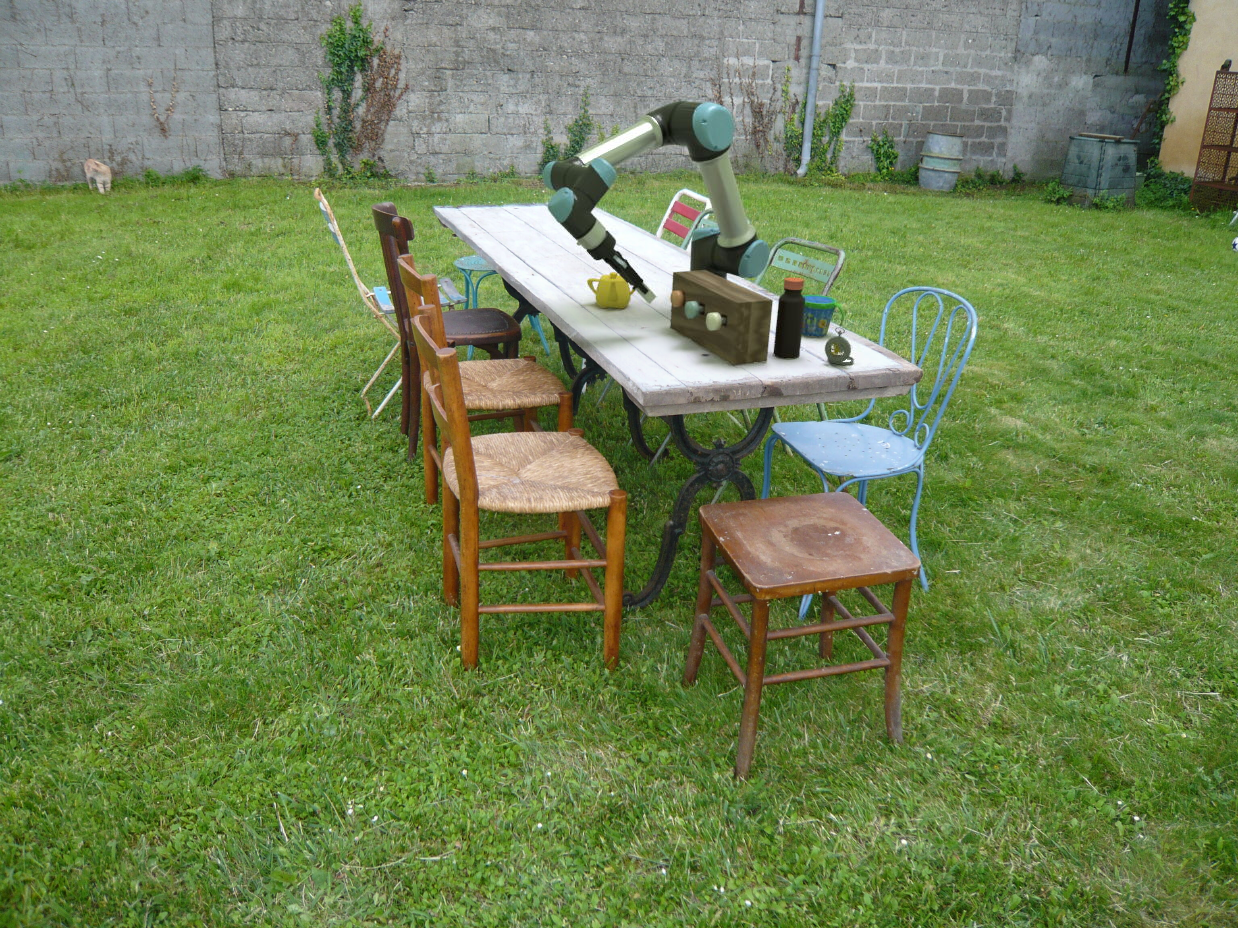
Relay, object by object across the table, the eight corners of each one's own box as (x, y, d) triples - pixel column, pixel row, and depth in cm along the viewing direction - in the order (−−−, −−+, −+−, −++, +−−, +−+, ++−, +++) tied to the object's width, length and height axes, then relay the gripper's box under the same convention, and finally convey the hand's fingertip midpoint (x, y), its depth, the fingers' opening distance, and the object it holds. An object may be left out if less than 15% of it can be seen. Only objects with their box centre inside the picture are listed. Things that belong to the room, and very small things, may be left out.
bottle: (781, 350, 245) (789, 275, 237) (804, 355, 242) (812, 279, 233) (768, 355, 241) (775, 279, 232) (791, 360, 237) (799, 283, 229)
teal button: (691, 320, 240) (692, 304, 239) (684, 316, 244) (685, 300, 242) (710, 318, 242) (711, 302, 241) (702, 314, 246) (703, 298, 244)
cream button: (713, 332, 230) (714, 315, 229) (705, 328, 234) (706, 311, 232) (732, 330, 232) (734, 313, 231) (724, 326, 236) (725, 309, 234)
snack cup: (845, 334, 261) (850, 299, 257) (834, 343, 253) (839, 306, 249) (793, 325, 268) (797, 291, 264) (780, 334, 260) (784, 298, 255)
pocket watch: (849, 358, 240) (854, 321, 236) (858, 368, 233) (863, 330, 228) (818, 357, 240) (823, 320, 236) (826, 367, 232) (831, 329, 228)
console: (732, 365, 232) (737, 302, 225) (670, 328, 262) (673, 272, 255) (766, 361, 236) (772, 300, 229) (701, 325, 266) (705, 270, 259)
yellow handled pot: (644, 308, 282) (645, 274, 278) (612, 314, 274) (612, 280, 270) (615, 299, 292) (615, 266, 288) (583, 304, 284) (583, 271, 280)
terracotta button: (677, 308, 251) (677, 293, 249) (670, 305, 255) (670, 289, 253) (695, 307, 253) (696, 291, 251) (687, 303, 257) (688, 288, 255)
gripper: (577, 246, 242) (633, 304, 255) (595, 255, 231) (652, 316, 244) (596, 225, 241) (651, 284, 254) (615, 233, 231) (671, 294, 243)
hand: (652, 299), depth 249 cm, fingers closed
